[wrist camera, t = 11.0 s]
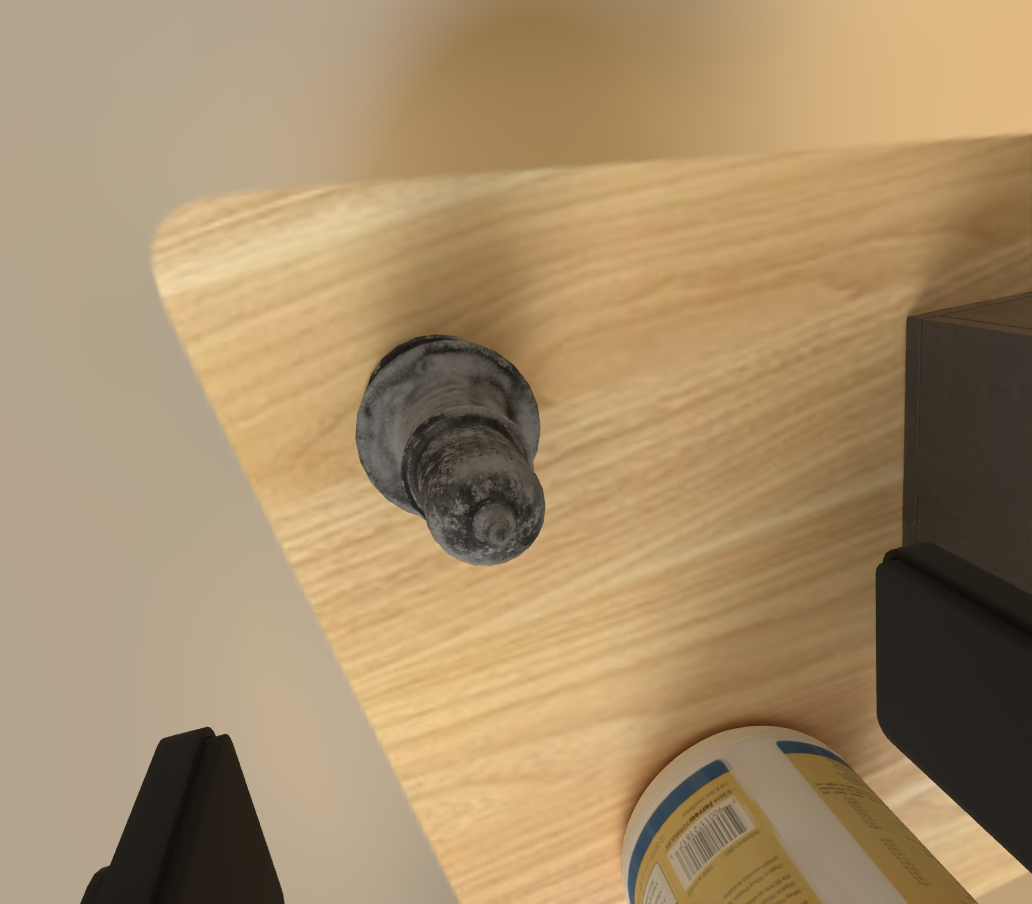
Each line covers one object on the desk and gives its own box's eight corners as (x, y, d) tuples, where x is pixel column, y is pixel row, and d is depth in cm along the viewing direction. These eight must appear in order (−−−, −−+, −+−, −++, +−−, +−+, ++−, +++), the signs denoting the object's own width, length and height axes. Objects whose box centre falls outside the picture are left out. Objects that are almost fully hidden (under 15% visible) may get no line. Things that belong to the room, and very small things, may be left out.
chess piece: (433, 290, 25) (499, 339, 14) (549, 401, 27) (687, 522, 16) (319, 414, 26) (293, 558, 14) (442, 514, 28) (503, 709, 16)
